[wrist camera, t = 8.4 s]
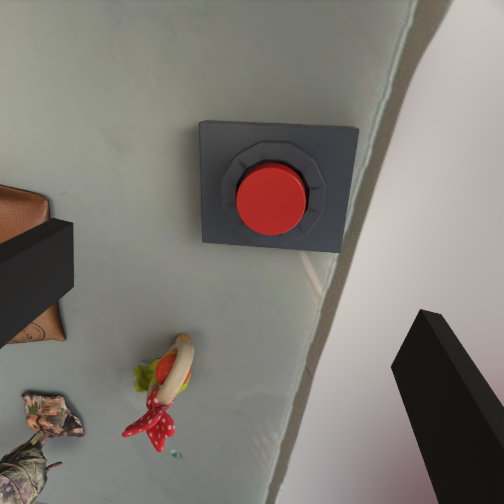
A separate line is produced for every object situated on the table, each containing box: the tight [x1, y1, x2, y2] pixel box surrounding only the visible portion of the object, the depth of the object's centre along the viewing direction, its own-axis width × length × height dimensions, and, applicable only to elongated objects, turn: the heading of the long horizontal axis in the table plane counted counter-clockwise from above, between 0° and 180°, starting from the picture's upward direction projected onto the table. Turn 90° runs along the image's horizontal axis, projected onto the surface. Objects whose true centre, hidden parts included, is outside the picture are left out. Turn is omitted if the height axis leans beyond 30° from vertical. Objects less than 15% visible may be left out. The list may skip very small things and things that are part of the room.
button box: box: [199, 120, 359, 253], centre depth 28 cm, size 12×10×4 cm
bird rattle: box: [122, 335, 194, 452], centre depth 34 cm, size 6×11×9 cm
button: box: [236, 163, 306, 235], centre depth 26 cm, size 5×5×2 cm
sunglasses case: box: [0, 185, 66, 344], centre depth 35 cm, size 18×7×7 cm, turn 173°
